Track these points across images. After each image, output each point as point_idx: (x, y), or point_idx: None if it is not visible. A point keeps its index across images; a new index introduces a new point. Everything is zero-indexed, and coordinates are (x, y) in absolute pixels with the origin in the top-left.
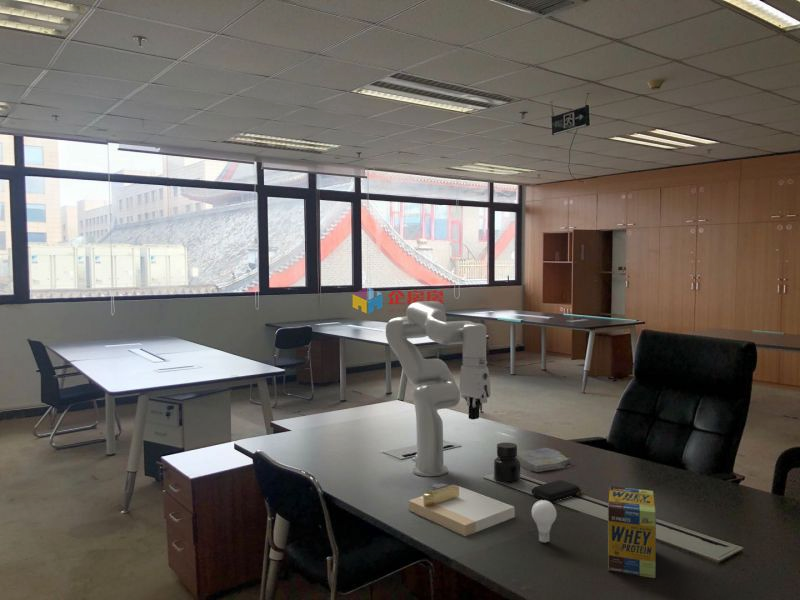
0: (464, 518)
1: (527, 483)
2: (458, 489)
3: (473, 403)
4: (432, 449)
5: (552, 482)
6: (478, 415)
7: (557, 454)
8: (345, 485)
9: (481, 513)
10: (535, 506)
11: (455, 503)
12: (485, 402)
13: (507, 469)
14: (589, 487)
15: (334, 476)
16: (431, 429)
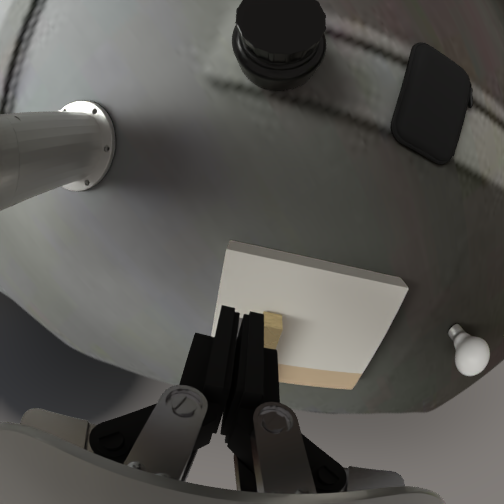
0: (341, 375)
1: (340, 55)
2: (282, 326)
3: (249, 475)
4: (56, 177)
5: (423, 76)
6: (276, 355)
7: None
8: (55, 314)
9: (360, 348)
10: (466, 375)
11: (293, 340)
12: (387, 483)
13: (303, 79)
14: (456, 32)
15: (19, 290)
16: (9, 195)
